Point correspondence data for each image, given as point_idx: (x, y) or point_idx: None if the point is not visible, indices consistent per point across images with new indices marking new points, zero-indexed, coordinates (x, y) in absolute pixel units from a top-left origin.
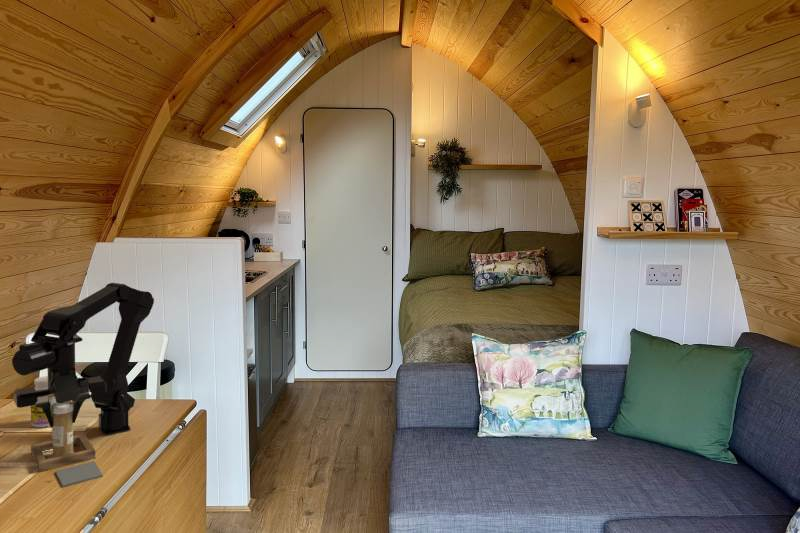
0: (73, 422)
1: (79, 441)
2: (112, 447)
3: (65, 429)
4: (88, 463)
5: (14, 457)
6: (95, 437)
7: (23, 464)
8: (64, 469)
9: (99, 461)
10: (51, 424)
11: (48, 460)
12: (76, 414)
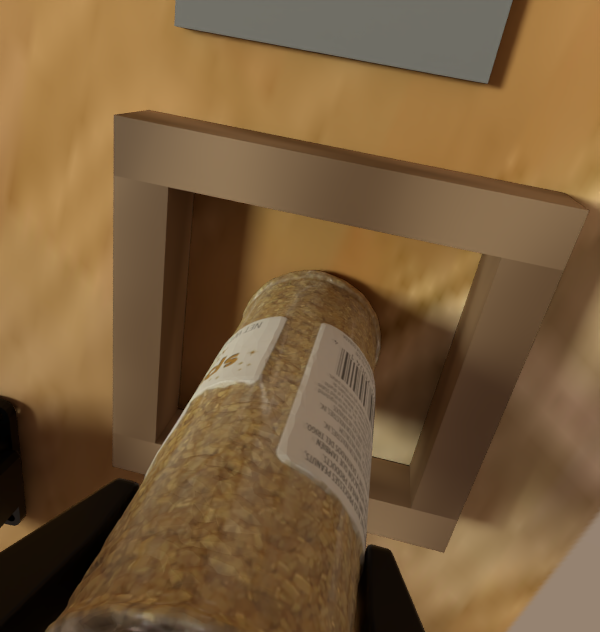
0: (129, 483)
1: (167, 410)
2: (4, 205)
3: (259, 414)
4: (225, 10)
5: (539, 521)
6: (70, 424)
7: (561, 398)
8: (423, 48)
9: (138, 20)
10: (384, 579)
11: (496, 221)
12: (21, 555)
